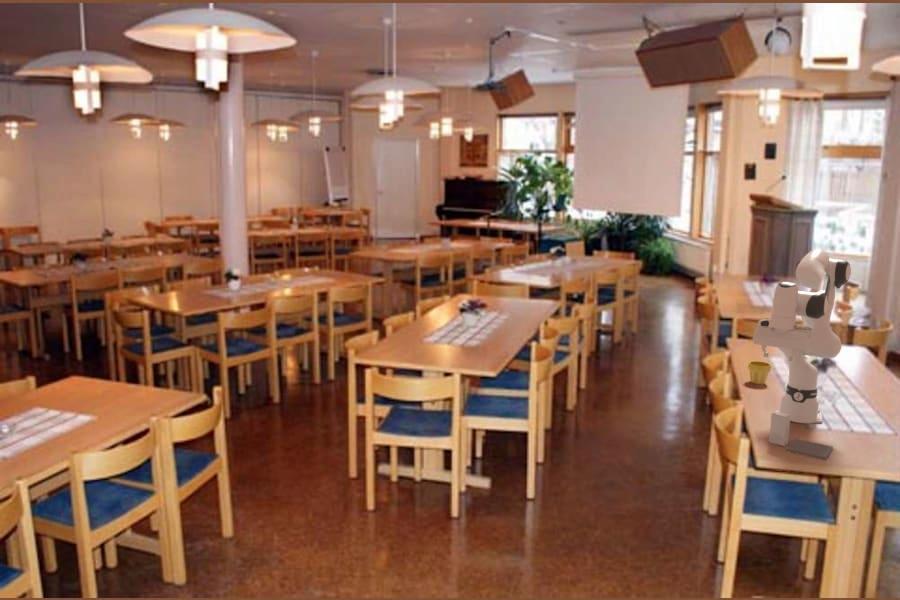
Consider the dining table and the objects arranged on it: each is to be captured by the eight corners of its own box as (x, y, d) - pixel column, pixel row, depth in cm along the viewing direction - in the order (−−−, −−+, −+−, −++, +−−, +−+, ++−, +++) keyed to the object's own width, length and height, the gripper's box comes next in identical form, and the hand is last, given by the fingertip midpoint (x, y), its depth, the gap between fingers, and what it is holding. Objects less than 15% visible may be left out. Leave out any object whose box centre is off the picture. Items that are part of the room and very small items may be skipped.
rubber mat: (794, 440, 309) (794, 438, 309) (832, 449, 301) (833, 446, 301) (786, 451, 298) (786, 448, 298) (826, 460, 290) (826, 457, 290)
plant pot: (755, 378, 394) (757, 359, 392) (773, 384, 385) (775, 364, 383) (742, 381, 389) (744, 362, 387) (759, 386, 380) (761, 367, 378)
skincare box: (788, 444, 305) (791, 414, 303) (783, 446, 302) (787, 417, 300) (772, 439, 309) (775, 410, 307) (768, 442, 306) (771, 413, 304)
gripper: (813, 327, 300) (808, 362, 302) (757, 319, 312) (753, 353, 313) (810, 328, 295) (805, 364, 297) (753, 320, 306) (749, 355, 308)
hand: (778, 358), depth 305 cm, fingers open, 8 cm apart
